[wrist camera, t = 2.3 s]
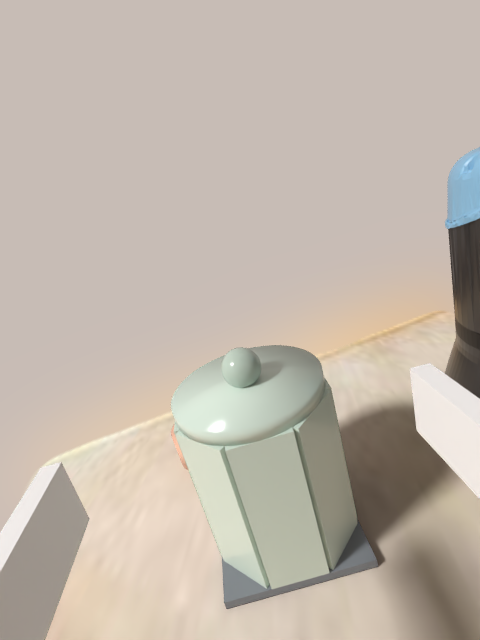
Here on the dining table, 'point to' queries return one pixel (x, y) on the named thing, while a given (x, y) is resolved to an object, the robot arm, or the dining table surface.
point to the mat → (248, 590)
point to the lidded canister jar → (267, 462)
